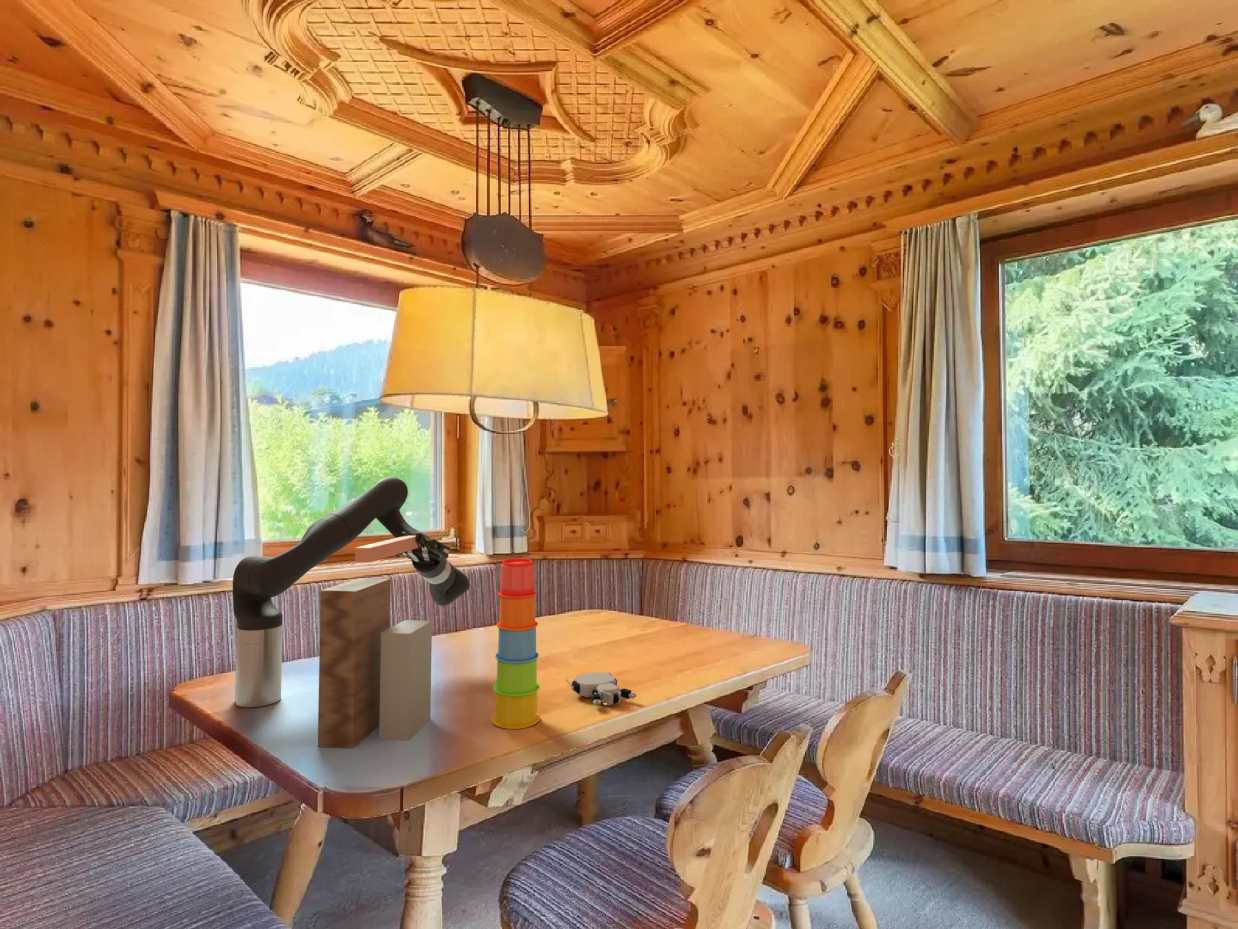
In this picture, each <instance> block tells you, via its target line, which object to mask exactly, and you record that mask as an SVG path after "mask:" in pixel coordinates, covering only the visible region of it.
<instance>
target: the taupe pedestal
mask: <svg viewBox="0 0 1238 929" xmlns="http://www.w3.org/2000/svg"><path fill="white" fill-rule="evenodd" d="M432 632H433V621H432V620H419V619H418V620H416V619H415V620H413V619H405V620H402V621H400V622H399V623H397V624H395V625H393V626H391V627H390V628H389V629H387V630H385V631H383V632H382V633H381V665H380V722H379V727H378V728H379V731H378V734H379V735H378V736H379V737H378V739H379V740H394V741H395V740H396V741H397V740H398V741H409V740H411V738H412V737H413V736H415V735H416V733H418V731H420V729H422V727H423V726H424V725H425V724H427V723H428V722H429V721H430V719H431V708H432V706H431V704H432V701H431V700H432V699H431V698H432V687H431V686H432V646H433V645H432V644H433V643H432V639H433V633H432Z"/></svg>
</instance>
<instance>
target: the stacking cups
mask: <svg viewBox="0 0 1238 929" xmlns="http://www.w3.org/2000/svg"><path fill="white" fill-rule="evenodd" d="M497 593H498V594H497V595H498V596H499V617H498V618H499V621H498V622H497V623H496V627H497V628H498V643H497V644H498V645H497V653H496V654H495V659H496V661H497V662H496V663H497V664H496V683H495V684H494V685H493V688H492V689H493V692H494V693H495V706H494V708H495V710H494V711H495V712H494V714H493V715H492V717H491V723H492V724H493V725H494V726H496V727H498V728H501V729H504V728H505V730H522V729H521V728H523V729H528V728H530V727H529V726H531V727H533V726H535V725H536V723H537V722H538V721H539V722H540V720H541V716H540V714H539V713H538V708H537V707H538V692H539V690H540V687H541V686H540V684H539V683H538V682H537V679H538V678H537V673H538V672H537V670H538V669H537V668H538V663H537V662H538V661H537V659H538V658H539V655H540V654H539V652H537V627H538V624H539V623H538V621H536V595H537V591H536V590H535V564H534V562H533V560H532V559H530V558H520V557H519V558H518V557H517V558H508V559H507V558H506V559H504V560H502V563H501V565H500V591H499V592H497ZM539 722H538V723H539ZM538 723H537V724H538ZM534 724H535V725H534ZM532 725H533V726H532ZM527 727H528V728H527Z"/></svg>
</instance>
